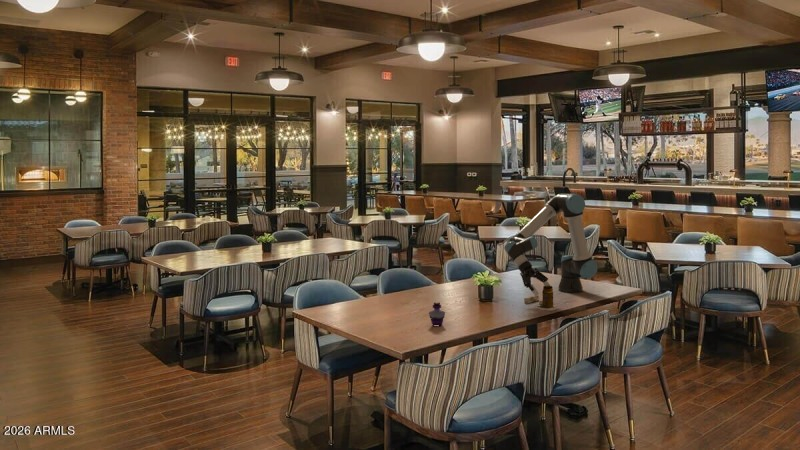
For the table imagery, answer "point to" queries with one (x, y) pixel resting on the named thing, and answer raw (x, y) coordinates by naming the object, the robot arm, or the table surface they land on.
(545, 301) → the condiment
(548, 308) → the plate
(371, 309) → the table surface
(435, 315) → the potion bottle
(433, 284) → the table surface
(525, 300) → the rail holder
